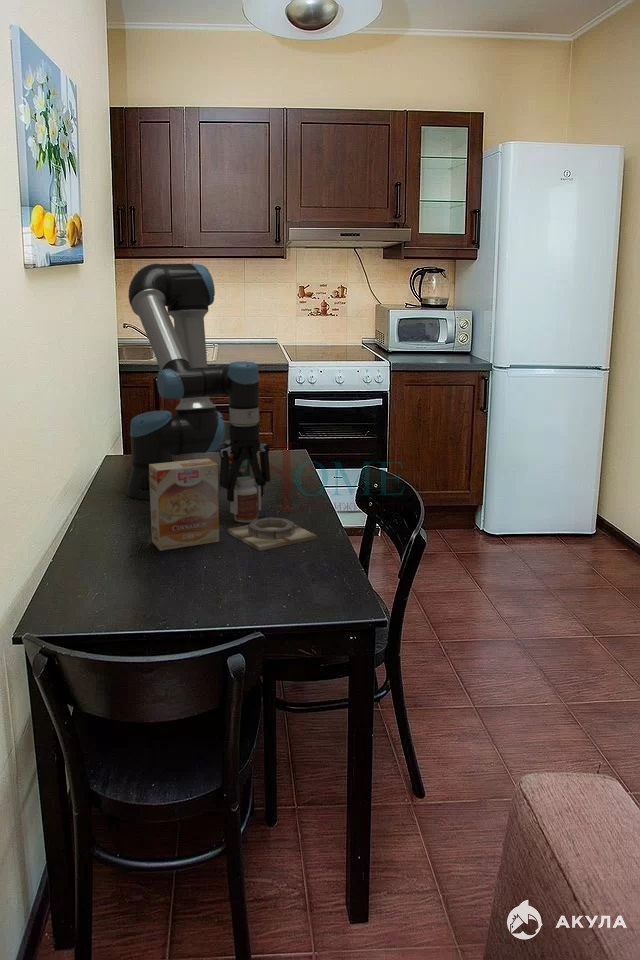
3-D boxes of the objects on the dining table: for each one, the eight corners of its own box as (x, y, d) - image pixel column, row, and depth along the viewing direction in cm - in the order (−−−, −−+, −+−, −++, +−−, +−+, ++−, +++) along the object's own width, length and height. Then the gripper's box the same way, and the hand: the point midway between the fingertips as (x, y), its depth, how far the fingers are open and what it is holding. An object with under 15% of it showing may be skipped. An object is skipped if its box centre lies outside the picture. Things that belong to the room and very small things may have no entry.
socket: (227, 532, 210) (227, 521, 210) (282, 522, 219) (282, 511, 218) (259, 551, 197) (259, 538, 197) (316, 539, 206) (316, 527, 205)
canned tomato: (255, 474, 267) (254, 440, 264) (240, 480, 260) (239, 445, 257) (235, 471, 271) (234, 437, 268) (219, 476, 264) (219, 442, 261)
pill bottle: (262, 520, 220) (261, 479, 217) (241, 524, 217) (240, 482, 214) (250, 515, 225) (249, 474, 222) (229, 518, 222) (229, 477, 219)
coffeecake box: (160, 551, 197) (156, 470, 192) (151, 542, 203) (147, 463, 198) (220, 542, 204) (218, 463, 199) (210, 533, 210) (208, 457, 205)
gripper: (217, 430, 206) (219, 520, 212) (284, 422, 216) (284, 508, 222) (203, 425, 212) (206, 513, 218) (269, 417, 222) (270, 502, 228)
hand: (245, 510), depth 220 cm, fingers closed on pill bottle, 6 cm apart
